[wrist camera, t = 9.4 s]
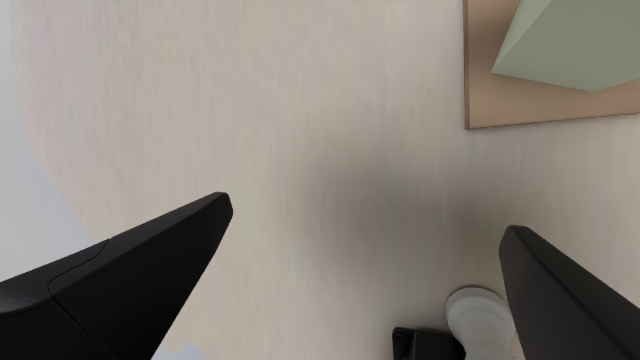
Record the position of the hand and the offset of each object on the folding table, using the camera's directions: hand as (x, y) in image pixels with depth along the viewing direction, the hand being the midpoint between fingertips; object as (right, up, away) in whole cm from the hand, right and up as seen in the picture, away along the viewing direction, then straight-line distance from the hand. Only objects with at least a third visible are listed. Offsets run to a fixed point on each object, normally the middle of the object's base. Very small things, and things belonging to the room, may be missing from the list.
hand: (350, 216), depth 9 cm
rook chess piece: (+11, -9, +12) cm, 19 cm away
